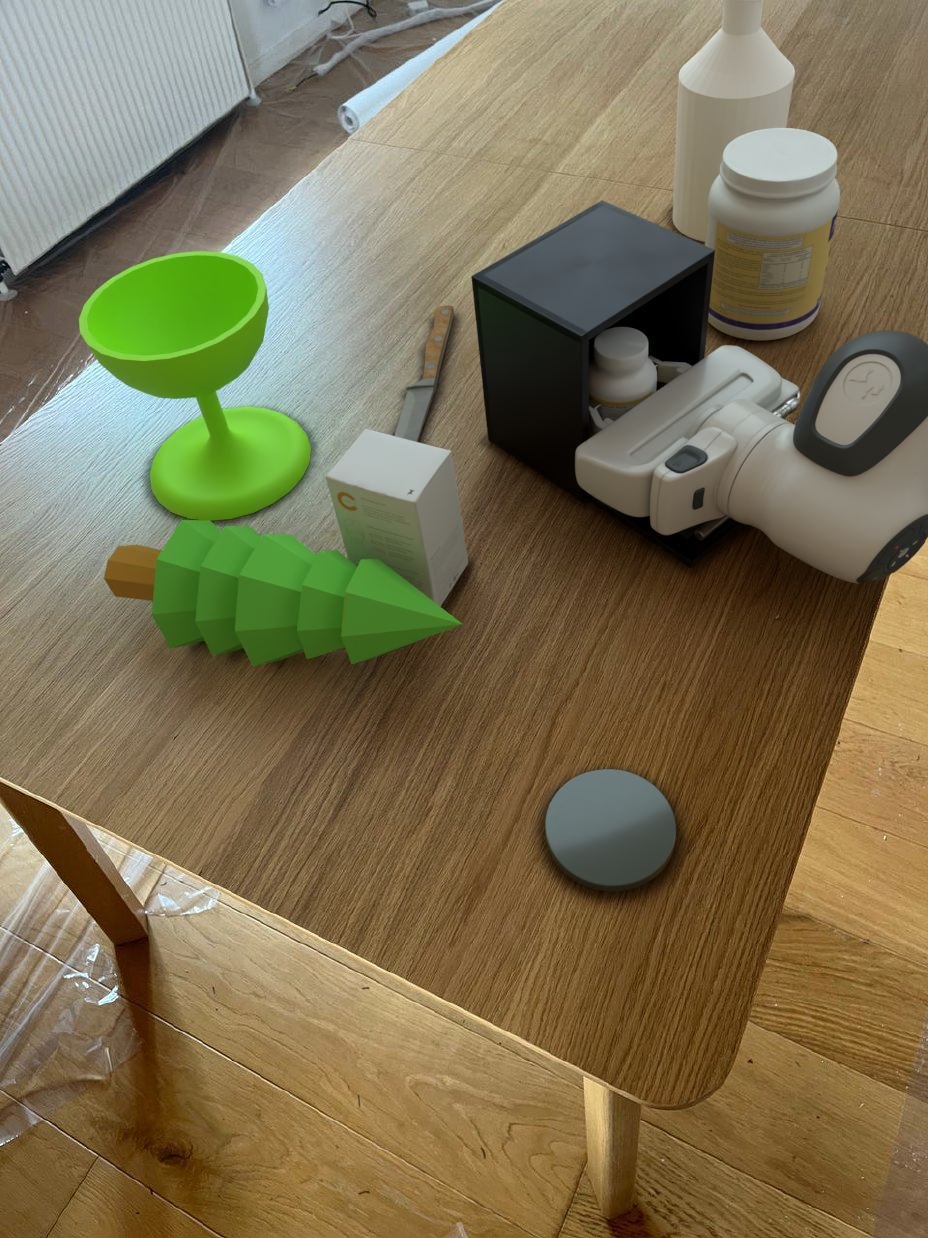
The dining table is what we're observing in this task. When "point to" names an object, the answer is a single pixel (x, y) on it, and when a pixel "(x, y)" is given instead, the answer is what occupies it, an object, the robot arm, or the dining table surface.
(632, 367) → the pill bottle
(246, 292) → the wineglass
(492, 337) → the oven
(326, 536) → the dining table surface
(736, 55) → the bottle
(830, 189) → the supplement tub
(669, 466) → the robot arm
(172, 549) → the decorative tree
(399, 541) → the small box
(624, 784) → the trivet
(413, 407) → the knife
